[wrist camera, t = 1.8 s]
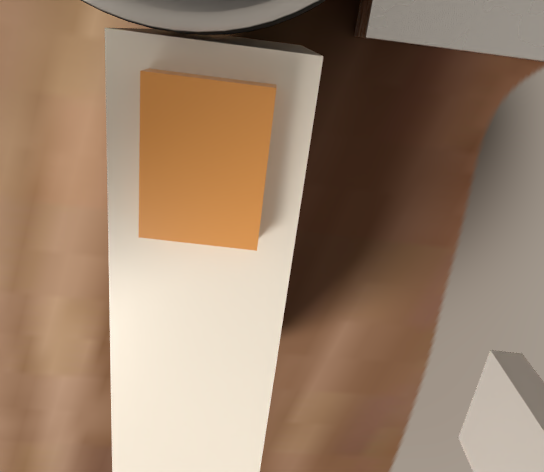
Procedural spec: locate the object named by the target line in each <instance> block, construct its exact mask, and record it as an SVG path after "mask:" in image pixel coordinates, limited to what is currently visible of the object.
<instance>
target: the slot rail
mask: <svg viewBox="0 0 544 472" xmlns="http://www.w3.org/2000/svg"><path fill="white" fill-rule="evenodd" d="M354 37H361V38H369V39H376V40H384V41H391V42H399V43H407V44H414V45H422V46H429V47H437V48H444V49H452V50H459V51H467V52H474V53H482V54H490V55H497V56H505V57H512V58H520V59H527V60H535V61H542V62H544V0H360V5H359V11H358V17H357V23H356V28H355V34H354Z"/></svg>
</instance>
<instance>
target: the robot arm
mask: <svg viewBox="0 0 544 472" xmlns="http://www.w3.org/2000/svg"><path fill="white" fill-rule="evenodd" d="M459 441H460V443H461V445H462V448H463V450H464V452H465V454H466V456H467V459H468V461H469V464H470V466H471V468H472V471H473V472H544V382H543V381H542V379H541V378H540V377H539V375H538V374H537V373H536V371H535V370H534V369H533V367H532V366H531V365H530V363H529V362H528V361H527V359H526V358H525V357H524V355H523V354H520V353H511V352H502V351H494V350H490V353H489V355H488V358H487V361H486V363H485V366H484V369H483V372H482V375H481V377H480V380H479V383H478V386H477V388H476V391H475V394H474V396H473V399H472V402H471V405H470V408H469V410H468V413H467V415H466V418H465V421H464V424H463V426H462V430H461V432H460V435H459Z"/></svg>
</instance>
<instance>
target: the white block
mask: <svg viewBox="0 0 544 472" xmlns="http://www.w3.org/2000/svg"><path fill="white" fill-rule="evenodd" d="M322 63H323V56H322V55H320V54H318V53H316V52H314V51H312V50H310V49H308V48H306V47H304V46H302V45H296V44H289V43H281V42H273V41H266V40H258V39H250V38H243V37H235V36H228V35H194V34H181V33H175V32H169V31H163V30H158V29H134V28H105V68H106V127H107V186H108V244H109V303H110V362H111V421H112V472H260V466H261V459H262V453H263V446H264V440H265V433H266V427H267V420H268V414H269V407H270V401H271V394H272V388H273V381H274V375H275V368H276V362H277V355H278V349H279V342H280V336H281V329H282V323H283V316H284V310H285V303H286V297H287V290H288V284H289V277H290V271H291V264H292V258H293V251H294V245H295V238H296V232H297V225H298V219H299V212H300V206H301V199H302V193H303V186H304V180H305V173H306V167H307V160H308V154H309V147H310V141H311V134H312V128H313V121H314V115H315V108H316V102H317V95H318V89H319V82H320V76H321V69H322Z"/></svg>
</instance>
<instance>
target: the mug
mask: <svg viewBox="0 0 544 472" xmlns="http://www.w3.org/2000/svg"><path fill="white" fill-rule="evenodd" d="M81 1H83V2H85V3H87V4H89V5H91V6H93V7H95V8H97V9H99V10H101V11H103V12H105V13H108V14H110V15H113V16H115V17H118V18H120V19H123V20H126V21H128V22H132V23H135V24H139V25H142V26H146V27H149V28H153V29H158V30H163V31H169V32H175V33H181V34H194V35H225V34H235V33H242V32H248V31H254V30H257V29H261V28H265V27H269V26H273V25H276V24H278V23H281V22H283V21H286V20H289V19H291V18H294V17H296V16H298V15H300V14H302V13H304V12H306V11H308V10H310V9H312V8H314V7H316V6H318V5H319V4H321V3H322V2H324V1H325V0H81Z"/></svg>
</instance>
